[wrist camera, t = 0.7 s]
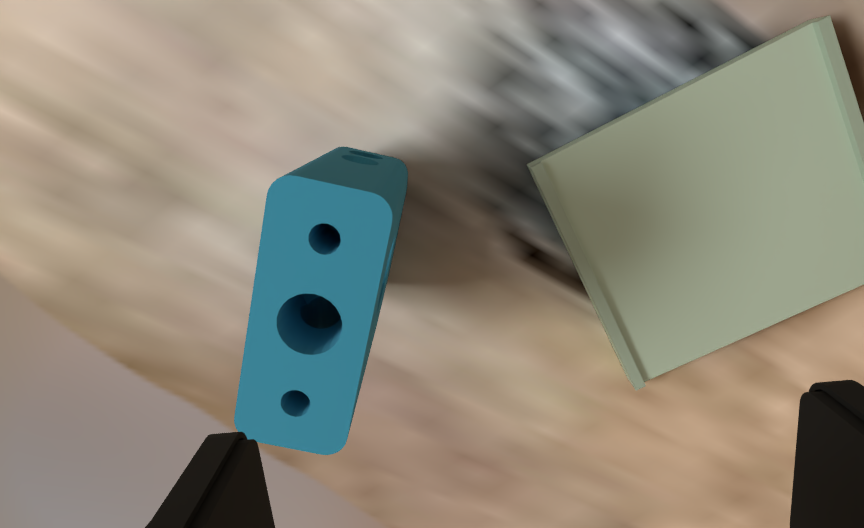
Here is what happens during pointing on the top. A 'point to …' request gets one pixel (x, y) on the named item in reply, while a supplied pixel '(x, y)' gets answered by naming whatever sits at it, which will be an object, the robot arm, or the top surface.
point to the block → (318, 297)
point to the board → (717, 202)
